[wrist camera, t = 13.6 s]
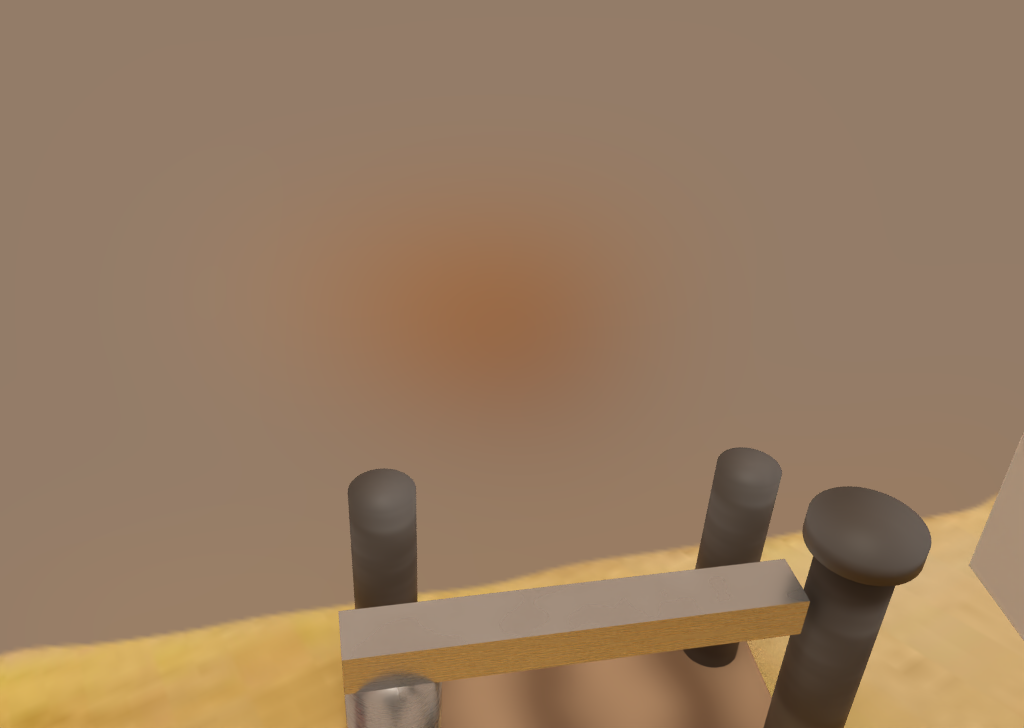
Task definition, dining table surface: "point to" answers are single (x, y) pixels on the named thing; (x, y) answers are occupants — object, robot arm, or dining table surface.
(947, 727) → the dining table surface
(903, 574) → the wooden base with rods
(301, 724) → the dining table surface
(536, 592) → the hinged leg
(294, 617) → the dining table surface
